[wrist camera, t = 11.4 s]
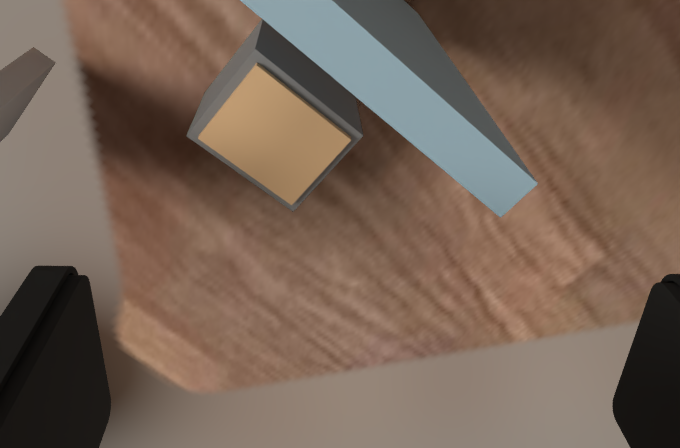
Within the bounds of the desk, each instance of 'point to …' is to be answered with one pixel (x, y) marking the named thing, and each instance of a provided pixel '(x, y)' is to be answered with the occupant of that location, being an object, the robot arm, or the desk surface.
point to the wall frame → (20, 86)
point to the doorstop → (277, 117)
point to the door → (406, 87)
